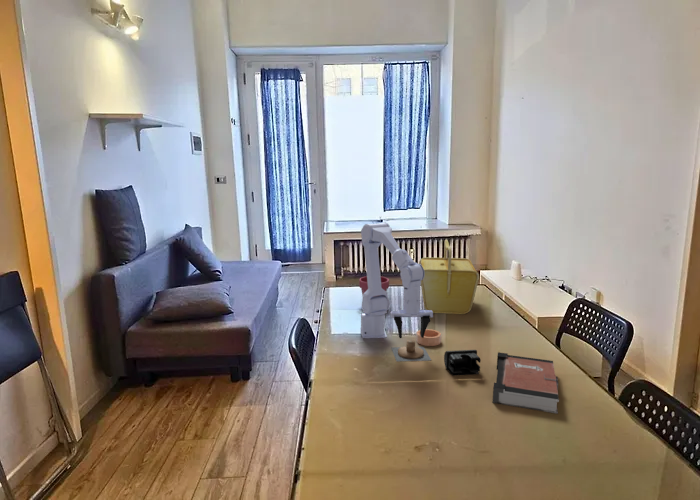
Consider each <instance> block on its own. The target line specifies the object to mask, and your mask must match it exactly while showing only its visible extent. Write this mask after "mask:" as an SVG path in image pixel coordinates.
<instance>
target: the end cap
mask: <svg viewBox="0 0 700 500" xmlns="http://www.w3.org/2000/svg"><path fill="white" fill-rule="evenodd" d="M443 361H444V363H443V364H444V367H445V369H446V370H447V371H448V372H449V374H450V376H454V377H455V376H472V375H473V376H475V375H479V374H480V372H481V366H480V364H479V363H481V358H480V356H478V350H477V349H461V350H446V351H445V352H444V355H443Z"/></svg>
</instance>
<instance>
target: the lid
mask: <svg viewBox="0 0 700 500" xmlns="http://www.w3.org/2000/svg"><path fill="white" fill-rule="evenodd" d="M400 347H401V348H399V349H398V355H399V356H401V357H403V358H407V359H417V358H421V357H422V356H423V355H424V351H423V350H422V349H421V348H419V347H420V346H416V340H412V339H407V340H406V345H405V346H400Z"/></svg>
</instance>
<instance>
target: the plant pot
mask: <svg viewBox="0 0 700 500" xmlns="http://www.w3.org/2000/svg"><path fill="white" fill-rule="evenodd" d="M380 277H381V287H382V289H383V290H385V291H386V292H387V290H388V289H389V287H390V279H389V278H387V277H385V276H383V275H382V276H381V275H380ZM358 281H359V285H358V286H359V288H360V289H361V293H362V294H361V295H363V294H364V293H365V292H366V291H367V290H368V282H367V275H366V276H361V277H360V278H359V280H358ZM378 296H380V295H378ZM373 297H375V296H373Z"/></svg>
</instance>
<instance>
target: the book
mask: <svg viewBox="0 0 700 500" xmlns="http://www.w3.org/2000/svg"><path fill="white" fill-rule="evenodd" d="M496 356H497V359H496V361H497V362H496V370H497V374H496V382H493V389H492V403H493V404H498V405H503V406H511V407H517V408H521V409H527V410H534V411H539V412H546V413H551V414H557V415H558V414H559V412H558V403H559V402H560V398H559V391H558V390H559V380H558V379H559V377H558V376H557V375H556V372H555V365H554V360H550V359H540V358H534V357H525V356H518V355H510V354H509V353H505V352H499V351H498V352H497V355H496Z"/></svg>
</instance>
